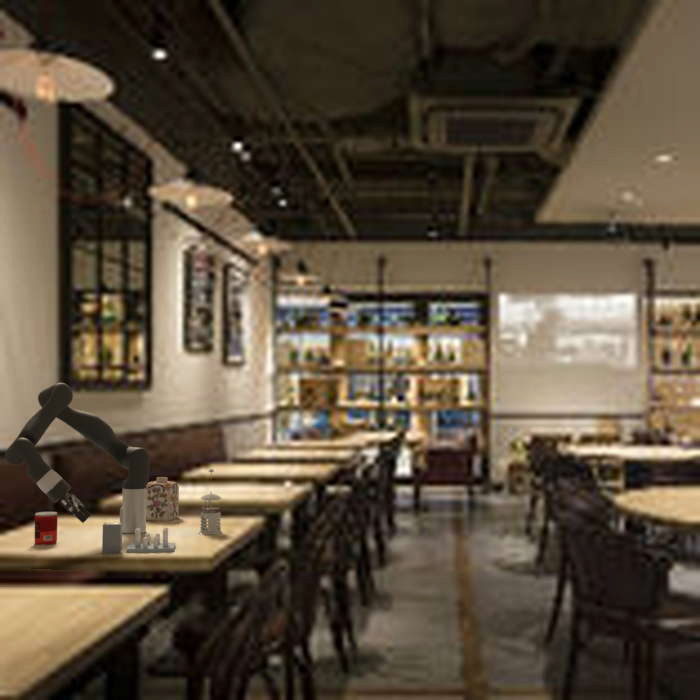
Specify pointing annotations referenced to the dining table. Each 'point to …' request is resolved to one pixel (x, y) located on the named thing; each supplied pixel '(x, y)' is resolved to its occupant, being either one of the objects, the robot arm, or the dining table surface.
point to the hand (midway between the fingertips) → (87, 518)
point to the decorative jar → (162, 500)
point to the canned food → (45, 528)
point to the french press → (210, 515)
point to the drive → (112, 538)
